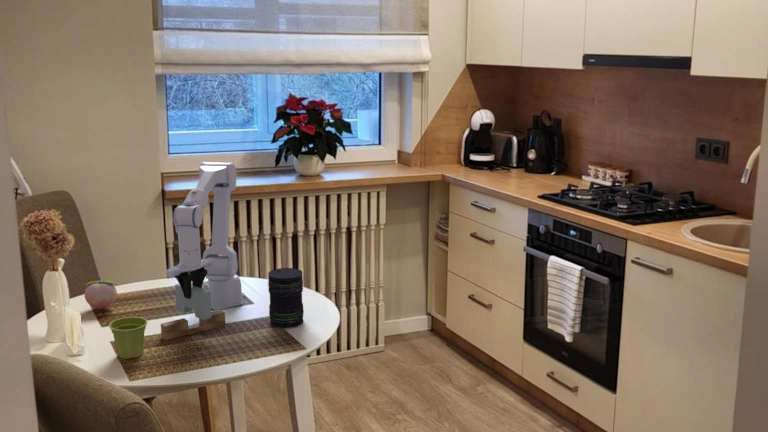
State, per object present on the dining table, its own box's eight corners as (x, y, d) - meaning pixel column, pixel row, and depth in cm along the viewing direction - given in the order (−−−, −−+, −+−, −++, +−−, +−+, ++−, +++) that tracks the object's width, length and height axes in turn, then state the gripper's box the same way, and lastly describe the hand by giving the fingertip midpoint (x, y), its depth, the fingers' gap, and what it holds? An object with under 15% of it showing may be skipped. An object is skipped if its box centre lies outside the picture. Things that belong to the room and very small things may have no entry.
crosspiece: (211, 317, 211) (210, 291, 210) (203, 319, 209) (202, 293, 208) (183, 307, 219) (182, 282, 217) (176, 309, 217) (175, 284, 215)
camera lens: (310, 322, 223) (310, 272, 219) (284, 331, 216) (283, 280, 212) (288, 314, 229) (287, 265, 226) (262, 322, 222) (260, 273, 219)
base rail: (221, 322, 222) (220, 309, 221) (225, 325, 220) (224, 312, 219) (161, 337, 211) (160, 323, 210) (165, 340, 209) (164, 326, 208)
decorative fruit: (118, 303, 238) (116, 272, 236) (118, 311, 230) (115, 280, 228) (86, 306, 235) (83, 275, 233) (85, 315, 228) (82, 283, 225)
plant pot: (157, 350, 202) (154, 319, 200) (134, 364, 194) (132, 331, 192) (127, 345, 205) (124, 314, 203) (103, 359, 197) (101, 327, 195)
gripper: (201, 241, 218) (203, 287, 221) (158, 252, 207) (161, 300, 210) (217, 245, 214) (220, 291, 217) (174, 256, 203) (177, 305, 206)
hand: (192, 296), depth 213 cm, fingers closed on crosspiece, 3 cm apart
